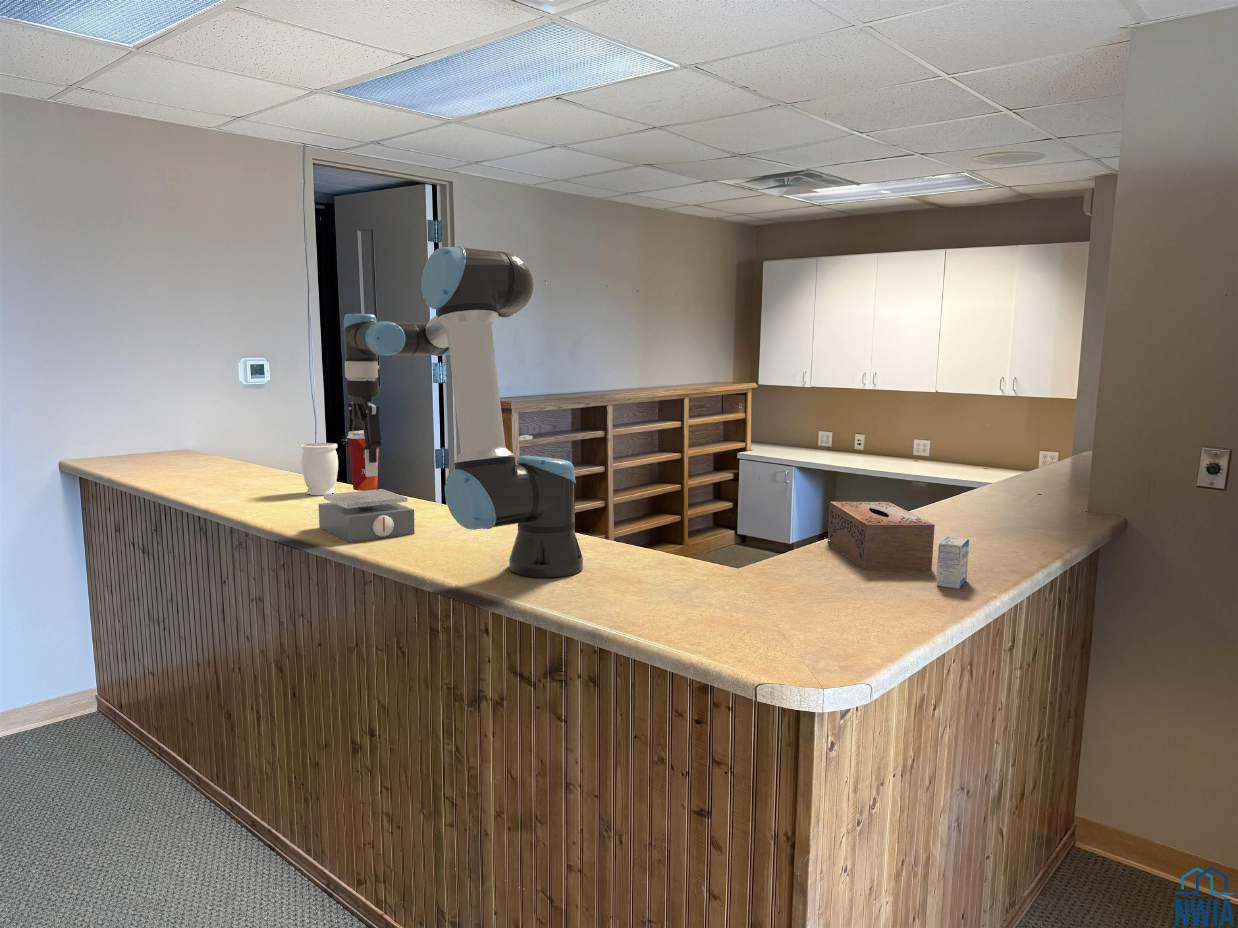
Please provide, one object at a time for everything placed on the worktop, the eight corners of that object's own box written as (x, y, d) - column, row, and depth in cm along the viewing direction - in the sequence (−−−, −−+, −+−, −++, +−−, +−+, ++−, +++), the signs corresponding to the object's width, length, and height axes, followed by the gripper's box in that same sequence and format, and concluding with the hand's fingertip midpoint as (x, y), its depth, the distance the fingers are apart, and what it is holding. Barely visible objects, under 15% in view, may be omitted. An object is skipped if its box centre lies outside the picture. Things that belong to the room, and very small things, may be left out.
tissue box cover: (931, 571, 176) (934, 524, 175) (864, 571, 176) (866, 524, 174) (886, 542, 202) (889, 501, 200) (827, 542, 201) (829, 501, 200)
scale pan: (407, 506, 203) (407, 497, 203) (346, 513, 194) (346, 504, 194) (382, 497, 215) (382, 488, 215) (324, 503, 206) (323, 494, 205)
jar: (331, 496, 250) (330, 446, 248) (297, 496, 250) (295, 446, 248) (343, 490, 260) (342, 442, 258) (310, 490, 260) (309, 442, 258)
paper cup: (372, 492, 199) (370, 433, 198) (342, 490, 201) (340, 432, 199) (387, 486, 207) (385, 430, 205) (358, 485, 209) (357, 429, 207)
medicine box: (959, 589, 162) (962, 546, 161) (935, 586, 164) (938, 543, 163) (966, 580, 169) (970, 538, 167) (943, 577, 171) (946, 535, 170)
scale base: (415, 534, 202) (415, 509, 201) (351, 543, 192) (350, 517, 191) (380, 519, 218) (380, 497, 217) (319, 527, 208) (318, 503, 207)
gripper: (394, 380, 195) (397, 477, 198) (360, 377, 211) (363, 467, 214) (363, 381, 190) (366, 480, 193) (330, 378, 206) (334, 470, 209)
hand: (364, 473), depth 203 cm, fingers closed on paper cup, 8 cm apart
